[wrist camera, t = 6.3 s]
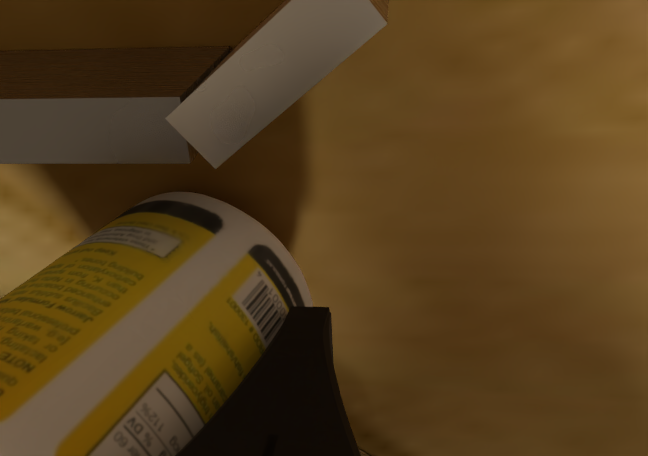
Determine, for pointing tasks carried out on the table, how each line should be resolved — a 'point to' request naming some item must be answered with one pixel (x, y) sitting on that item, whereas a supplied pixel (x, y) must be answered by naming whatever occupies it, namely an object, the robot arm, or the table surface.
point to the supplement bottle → (141, 330)
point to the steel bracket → (173, 90)
